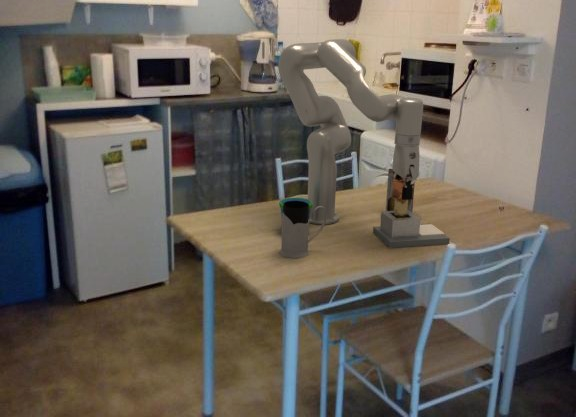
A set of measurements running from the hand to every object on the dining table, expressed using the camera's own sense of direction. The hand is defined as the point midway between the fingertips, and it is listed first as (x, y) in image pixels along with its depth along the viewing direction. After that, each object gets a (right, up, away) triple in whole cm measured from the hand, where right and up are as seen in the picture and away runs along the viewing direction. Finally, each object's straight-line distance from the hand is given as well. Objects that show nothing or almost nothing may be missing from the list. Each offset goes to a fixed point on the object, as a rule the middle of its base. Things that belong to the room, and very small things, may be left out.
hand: (402, 195), depth 193 cm
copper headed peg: (0, -10, +3) cm, 10 cm away
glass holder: (-31, -17, -8) cm, 36 cm away
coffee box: (+4, -6, +28) cm, 29 cm away
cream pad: (+9, -11, +6) cm, 16 cm away
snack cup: (-33, -12, +8) cm, 36 cm away
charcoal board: (+4, -14, +5) cm, 15 cm away
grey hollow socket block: (0, -12, +4) cm, 12 cm away
